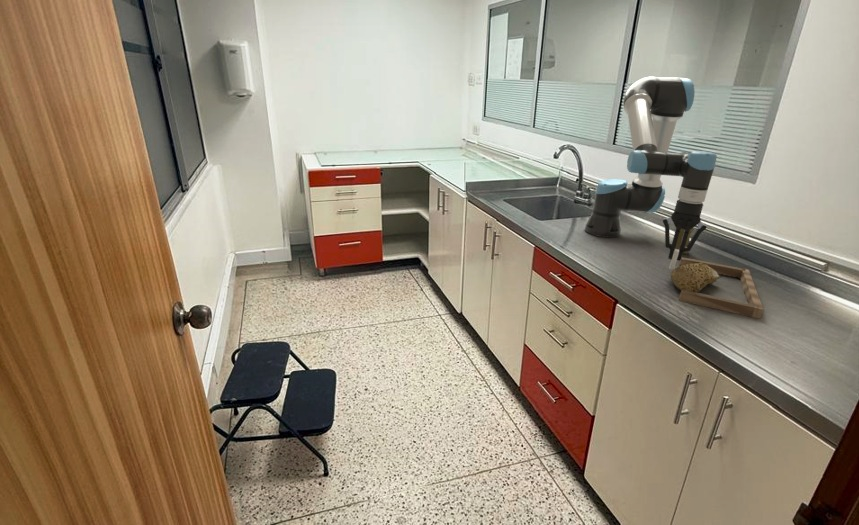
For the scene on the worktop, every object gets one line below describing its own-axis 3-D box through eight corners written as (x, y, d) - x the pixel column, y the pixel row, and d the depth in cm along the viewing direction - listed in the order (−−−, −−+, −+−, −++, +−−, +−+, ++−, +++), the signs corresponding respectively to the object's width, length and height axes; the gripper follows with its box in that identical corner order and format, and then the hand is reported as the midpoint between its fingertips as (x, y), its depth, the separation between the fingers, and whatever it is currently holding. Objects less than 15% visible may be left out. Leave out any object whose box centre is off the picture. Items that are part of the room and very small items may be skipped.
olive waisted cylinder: (684, 254, 174) (692, 228, 170) (668, 250, 178) (675, 224, 174) (690, 251, 178) (697, 225, 173) (674, 247, 182) (681, 221, 177)
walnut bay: (679, 264, 164) (681, 257, 163) (745, 277, 155) (748, 269, 154) (679, 300, 136) (681, 291, 135) (760, 318, 127) (763, 309, 126)
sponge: (687, 277, 156) (652, 274, 147) (700, 258, 153) (665, 254, 143) (720, 299, 147) (685, 298, 137) (734, 280, 143) (699, 277, 133)
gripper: (667, 200, 140) (650, 267, 149) (714, 206, 135) (693, 276, 144) (668, 195, 146) (651, 260, 155) (713, 201, 141) (693, 268, 150)
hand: (671, 268), depth 150 cm, fingers closed
